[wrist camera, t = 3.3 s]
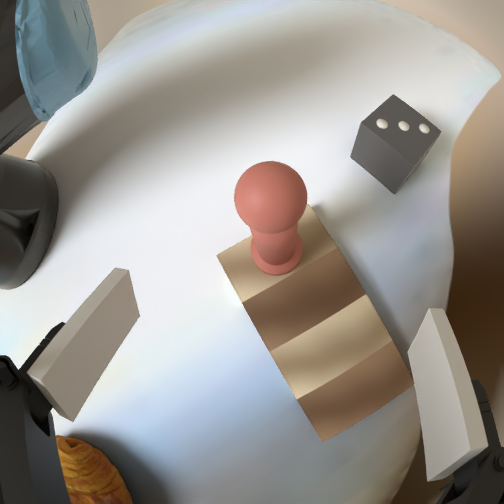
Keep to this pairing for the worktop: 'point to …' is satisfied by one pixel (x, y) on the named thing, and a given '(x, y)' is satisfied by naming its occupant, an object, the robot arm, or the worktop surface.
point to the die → (393, 142)
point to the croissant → (90, 474)
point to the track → (320, 330)
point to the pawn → (272, 214)
